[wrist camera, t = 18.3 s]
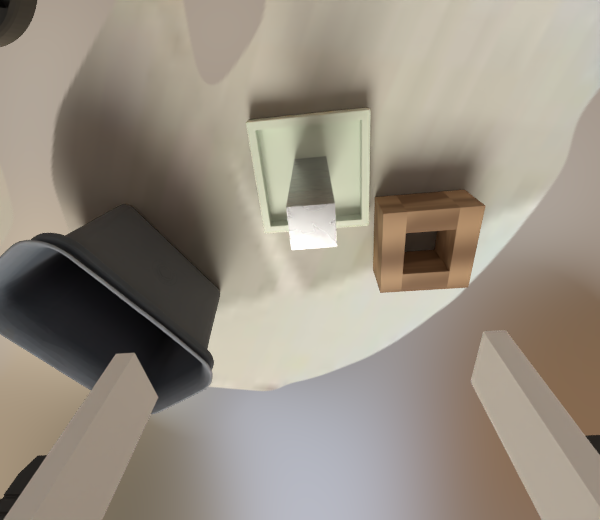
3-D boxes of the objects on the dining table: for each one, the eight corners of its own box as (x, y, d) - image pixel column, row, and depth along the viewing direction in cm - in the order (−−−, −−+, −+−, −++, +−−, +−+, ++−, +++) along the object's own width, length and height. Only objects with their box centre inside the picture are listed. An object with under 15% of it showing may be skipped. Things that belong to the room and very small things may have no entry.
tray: (249, 119, 33) (245, 122, 31) (366, 107, 32) (370, 109, 30) (266, 225, 39) (264, 233, 37) (365, 217, 38) (368, 225, 36)
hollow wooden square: (374, 196, 37) (383, 213, 32) (464, 189, 36) (485, 205, 32) (373, 269, 42) (380, 292, 37) (451, 264, 41) (468, 287, 37)
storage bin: (249, 295, 44) (226, 381, 32) (174, 341, 49) (129, 430, 37) (127, 172, 36) (32, 224, 24) (50, 242, 41) (-61, 315, 29)
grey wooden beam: (297, 189, 36) (291, 250, 24) (294, 159, 34) (286, 207, 22) (327, 187, 36) (336, 246, 23) (326, 156, 34) (335, 203, 22)
